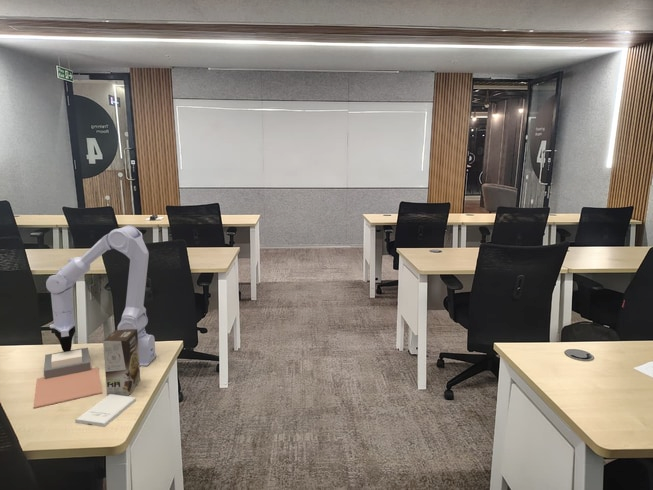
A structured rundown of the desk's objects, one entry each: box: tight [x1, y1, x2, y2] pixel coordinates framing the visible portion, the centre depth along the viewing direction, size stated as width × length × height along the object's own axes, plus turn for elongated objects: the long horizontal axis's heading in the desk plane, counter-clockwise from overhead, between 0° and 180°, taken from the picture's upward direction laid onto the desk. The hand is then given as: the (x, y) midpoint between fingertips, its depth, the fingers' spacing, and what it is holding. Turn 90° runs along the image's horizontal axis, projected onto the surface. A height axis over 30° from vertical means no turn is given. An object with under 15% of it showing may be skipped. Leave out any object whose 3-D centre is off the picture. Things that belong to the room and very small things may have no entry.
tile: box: [51, 349, 82, 368], centre depth 134 cm, size 6×8×2 cm
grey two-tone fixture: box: [43, 347, 92, 379], centre depth 137 cm, size 13×12×3 cm
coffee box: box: [102, 329, 141, 397], centre depth 123 cm, size 9×6×16 cm
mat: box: [32, 366, 103, 409], centre depth 125 cm, size 18×16×1 cm
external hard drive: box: [74, 394, 137, 428], centre depth 113 cm, size 2×8×12 cm
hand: (67, 350), depth 140 cm, fingers closed
